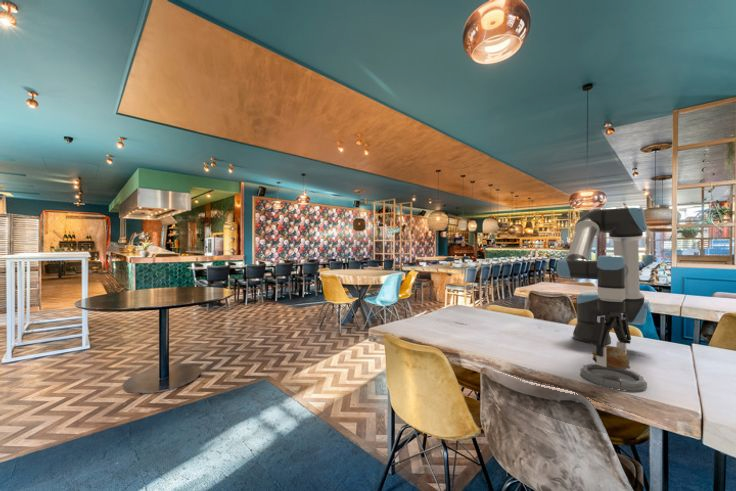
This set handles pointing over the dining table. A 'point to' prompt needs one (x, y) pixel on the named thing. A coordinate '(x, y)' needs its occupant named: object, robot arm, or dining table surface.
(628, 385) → the slate plate
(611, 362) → the bread roll
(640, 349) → the dining table surface
